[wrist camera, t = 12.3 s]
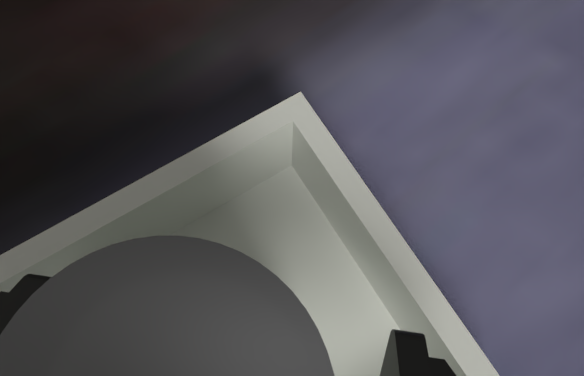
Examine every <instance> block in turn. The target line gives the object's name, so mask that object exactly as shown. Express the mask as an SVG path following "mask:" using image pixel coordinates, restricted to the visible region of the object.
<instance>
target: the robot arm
mask: <svg viewBox="0 0 584 376" xmlns="http://www.w3.org/2000/svg"><path fill="white" fill-rule="evenodd" d="M50 278H51V277H49V276H42V275H36V274H27V275H25V276H24V277H23V278H22V279H21V280H20V281H19V282H18V283H17V284H16V285H15V286H14V287H13V288H12V290H11V291H10V292H3V291H1V292H0V335H1V333H2V331H3V330H4V329H5V327H6V326H7V324H8V323H9V322H10V320H11V319H12V317H13V316H14V315H15V313H16V312H17V311H18V310H19V309H20V307H21V306H22V305H23V304H24V303H25V302H26V301H27V300H28V298H29V297H30V296H31V295H32V294H33V293H34V292H35V291H36V290H38V289H39V288H40V287H41V286H42V285H43V284H44V283H45V282H47V281H48V280H49V279H50ZM380 376H456V374H455V373H454V372H453V370H452V369H451V368H450V366H449V365H448V363H447V362H446V361H445V359H439V358H432V357H429V355H428V349H427V344H426V339H425V335H424V334H423V333H416V332H409V331H403V330H396V329H392V330H391V332H390V336H389V340H388V344H387V348H386V352H385V356H384V360H383V364H382V368H381V372H380Z"/></svg>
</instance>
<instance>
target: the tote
mask: <svg viewBox="0 0 584 376" xmlns="http://www.w3.org/2000/svg"><path fill="white" fill-rule="evenodd" d="M150 236H186V237H194V238H200V239H204V240H208V241H212V242H216V243H220V244H222V245H225V246H227V247H230V248H233V249H235V250H238V251H240V252H242V253H243V254H245V255H247V256H249V257H251V258H252V259H254V260H256V261H258V262H259V263H261V264H262V265H263V266H265V267H266V268H267V269H269V270H270V271H271V272H273V273H274V274H275V275H276V276H277V277H278V278H279V279H280V280H281V281H283V282H284V283H285V284H286V285H287V286H288V287H289V288H290V289H291V290H292V291H293V293H294V294H295V295H296V297H297V298H298V299H299V300H300V302H301V303H302V304H303V306H304V307H305V308H306V310H307V311H308V313H309V315H310V316H311V318H312V320H313V321H314V323H315V325H316V326H317V328H318V330H319V333H320V335H321V337H322V339H323V342H324V344H325V346H326V349H327V351H328V355H329V358H330V362H331V365H332V368H333V372H334V376H380V372H381V368H382V364H383V360H384V356H385V352H386V348H387V344H388V340H389V336H390V332H391V330H392V329H396V330H403V331H409V332H416V333H423V334H424V335H425V339H426V344H427V349H428V355H429V357H432V358H439V359H445V361H446V362H447V363H448V365H449V366H450V368H451V369H452V370H453V372H454V373H455V374H456V376H499V374H498V373H497V371H496V370H495V369H494V367H493V366H492V364H491V363H490V361H489V360H488V359H487V357H486V356H485V354H484V353H483V351H482V350H481V349H480V347H479V346H478V344H477V343H476V341H475V340H474V339H473V337H472V336H471V334H470V333H469V331H468V330H467V329H466V327H465V326H464V324H463V323H462V321H461V320H460V319H459V317H458V316H457V314H456V313H455V311H454V310H453V309H452V307H451V306H450V304H449V303H448V301H447V300H446V299H445V297H444V296H443V294H442V293H441V291H440V290H439V289H438V287H437V286H436V284H435V283H434V281H433V280H432V279H431V277H430V276H429V274H428V273H427V271H426V270H425V269H424V267H423V266H422V264H421V263H420V261H419V260H418V259H417V257H416V256H415V254H414V253H413V251H412V250H411V249H410V247H409V246H408V244H407V243H406V241H405V240H404V239H403V237H402V236H401V234H400V233H399V231H398V230H397V229H396V227H395V226H394V224H393V223H392V221H391V220H390V219H389V217H388V216H387V214H386V213H385V211H384V210H383V209H382V207H381V206H380V204H379V203H378V201H377V200H376V199H375V197H374V196H373V194H372V193H371V191H370V190H369V189H368V187H367V186H366V184H365V183H364V181H363V180H362V179H361V177H360V176H359V174H358V173H357V171H356V170H355V169H354V167H353V166H352V164H351V163H350V161H349V160H348V159H347V157H346V156H345V154H344V153H343V151H342V150H341V149H340V147H339V146H338V144H337V143H336V141H335V140H334V139H333V137H332V136H331V134H330V133H329V131H328V130H327V129H326V127H325V126H324V124H323V123H322V121H321V120H320V119H319V117H318V116H317V114H316V113H315V111H314V110H313V109H312V107H311V106H310V104H309V103H308V101H307V100H306V99H305V97H304V96H303V94H302V93H301V92H299V93H297V94H295V95H293V96H292V97H290V98H288V99H286V100H284V101H282V102H281V103H279V104H277V105H275V106H273V107H271V108H270V109H268V110H266V111H264V112H262V113H260V114H259V115H257V116H255V117H253V118H251V119H249V120H247V121H246V122H244V123H242V124H240V125H238V126H236V127H235V128H233V129H231V130H229V131H227V132H225V133H224V134H222V135H220V136H218V137H216V138H214V139H213V140H211V141H209V142H207V143H205V144H203V145H202V146H200V147H198V148H196V149H194V150H192V151H191V152H189V153H187V154H185V155H183V156H181V157H180V158H178V159H176V160H174V161H172V162H170V163H169V164H167V165H165V166H163V167H161V168H159V169H158V170H156V171H154V172H152V173H150V174H148V175H146V176H145V177H143V178H141V179H139V180H137V181H135V182H134V183H132V184H130V185H128V186H126V187H124V188H123V189H121V190H119V191H117V192H115V193H113V194H112V195H110V196H108V197H106V198H104V199H102V200H101V201H99V202H97V203H95V204H93V205H91V206H90V207H88V208H86V209H84V210H82V211H80V212H79V213H77V214H75V215H73V216H71V217H69V218H68V219H66V220H64V221H62V222H60V223H58V224H57V225H55V226H53V227H51V228H49V229H47V230H45V231H44V232H42V233H40V234H38V235H36V236H34V237H33V238H31V239H29V240H27V241H25V242H23V243H22V244H20V245H18V246H16V247H14V248H12V249H11V250H9V251H7V252H5V253H3V254H1V255H0V292H1V291H3V292H10V291H11V290H12V288H13V287H14V286H15V285H16V284H17V283H18V282H19V281H20V280H21V279H22V278H23V277H24V276H25V275H27V274H36V275H42V276H49V277H53V276H54V275H55V274H57V273H58V272H60V271H61V270H62V269H64V268H65V267H67V266H68V265H70V264H71V263H73V262H75V261H77V260H79V259H80V258H82V257H84V256H86V255H88V254H90V253H92V252H94V251H97V250H99V249H102V248H104V247H107V246H109V245H112V244H116V243H119V242H123V241H127V240H131V239H135V238H143V237H150Z"/></svg>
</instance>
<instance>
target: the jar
mask: <svg viewBox="0 0 584 376" xmlns="http://www.w3.org/2000/svg"><path fill="white" fill-rule="evenodd" d="M0 376H334V372H333V368H332V365H331V362H330V358H329V355H328V351H327V349H326V346H325V344H324V342H323V339H322V337H321V335H320V333H319V330H318V328H317V326H316V325H315V323H314V321H313V320H312V318H311V316H310V315H309V313H308V311H307V310H306V308H305V307H304V306H303V304H302V303H301V302H300V300H299V299H298V298H297V297H296V295H295V294H294V293H293V291H292V290H291V289H290V288H289V287H288V286H287V285H286V284H285V283H284V282H283V281H281V280H280V279H279V278H278V277H277V276H276V275H275V274H274V273H273V272H271V271H270V270H269V269H267V268H266V267H265V266H263V265H262V264H261V263H259V262H258V261H256V260H254V259H252V258H251V257H249V256H247V255H245V254H243V253H242V252H240V251H238V250H235V249H233V248H230V247H227V246H225V245H222V244H220V243H216V242H212V241H208V240H204V239H200V238H194V237H186V236H150V237H143V238H135V239H131V240H127V241H123V242H119V243H116V244H112V245H109V246H107V247H104V248H102V249H99V250H97V251H94V252H92V253H90V254H88V255H86V256H84V257H82V258H80V259H79V260H77V261H75V262H73V263H71V264H70V265H68V266H67V267H65V268H64V269H62V270H61V271H60V272H58V273H57V274H55V275H54V276H53V277H51V278H50V279H49V280H48V281H47V282H45V283H44V284H43V285H42V286H41V287H40V288H39V289H38V290H36V291H35V292H34V293H33V294H32V295H31V296H30V297H29V298H28V300H27V301H26V302H25V303H24V304H23V305H22V306H21V307H20V309H19V310H18V311H17V312H16V313H15V315H14V316H13V317H12V319H11V320H10V322H9V323H8V324H7V326H6V327H5V329H4V330H3V331H2V333H1V335H0Z"/></svg>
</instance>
